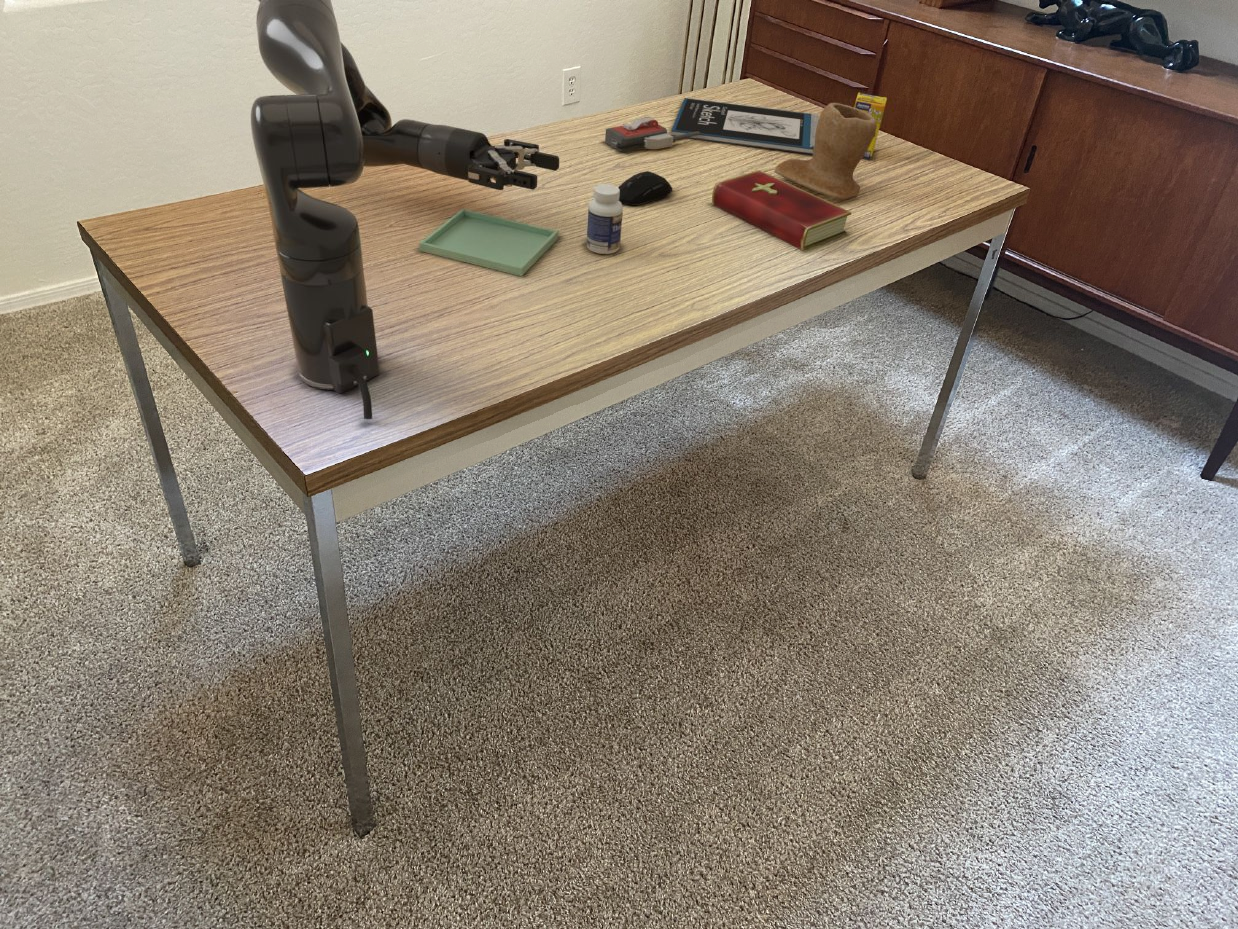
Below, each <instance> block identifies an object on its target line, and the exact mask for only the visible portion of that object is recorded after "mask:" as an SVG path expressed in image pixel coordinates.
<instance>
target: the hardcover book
mask: <svg viewBox="0 0 1238 929" xmlns="http://www.w3.org/2000/svg"><path fill="white" fill-rule="evenodd" d="M711 204H712V206H714V207H715V208H718V209H720V210H722V211H724V212H726V213H728V214H730V215H732V216H734V217H736V218H738V219H740V220H742V221H744V222H746V223H747V224H750V225H752V226H754V227H755V228H758V229H759V230H760V231H763V232H765V233H767V234H769V235H771V236H773V237H774V238H777V239H779V240H781V241H783V242H785V243H787V244H789V245H791V246H793V247H795V248H797V249H799V250H800V251H803V252H804V251H807V250H809V249H812V248H814V247H817V246H819V245H822V244H823V243H827V242H829V241H832V240H835V239H837V238H839V237H842V236H844V235H847V231H846V230H845V226H846V223H847V220H848V219H847V218H848V217H849V216H851V215H852V214H853V213H852V211H850V210H848V209H845V208H843V207H841V206H839V205H837V204H834V203H833V202H830V201H828V200H825V199H823V198H822V197H820V196H817V195H815V194H813V193H810V192H809V191H807V190H804V189H802V188H799V187H798V186H795V185H794V184H791V183H788V182H786V181H784V180H782V179H780V178H778V177H776V176H774V175H772V174H769V173H767V172H764V171H763V170H761V169H758V170H755V171H752V172H748V173H745V174H742V175H739V176H736V177H732V178H729V179H726V180H725V179H724V180H722V181H718V182H716V183H715V184H714V186H713V190H712V195H711Z"/></svg>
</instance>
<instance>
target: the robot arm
mask: <svg viewBox="0 0 1238 929" xmlns="http://www.w3.org/2000/svg"><path fill="white" fill-rule="evenodd" d="M257 1H258V2H259V4H258V8H257V11H256V32H257V42H258V43H257V44H258V50H259V55H260V57H261V59H262V63H264V65H265V67H266V69H267V70H268V71H269V73H270V74H271V75H272V76H273V77H274V79H276V80H277V81H278V82H279V83H280V84H281V85H283V86H284V87H285V88H286V89H288V90H289V91H291V92H292V93H293V94H274V95H261V96H259V97H257V98H256V99H254V101H253V103H252V105H251V109H250V129H251V136H252V137H251V138H252V142H253V148H254V151H255V155H256V160H257V163H258V168H259V171H260V175H261V180H262V184H263V187H264V191H265V196H266V200H267V205H268V210H269V215H270V222H271V227H272V233H273V234H272V235H273V240H274V245H275V251H276V256H277V262H278V266H279V273H280V278H281V279H280V280H281V284H282V289H283V294H284V295H283V296H284V301H285V305H286V306H285V307H286V311H287V317H288V323H289V327H290V334H291V339H292V343H293V344H292V345H293V349H294V355H295V360H296V371H297V374H298V377H299V379H300V380H301V381H302V382H303V383H305V384H306V385H308V386H310V387H313V388H316V389H320V390H328V391H329V390H331V391H335V392H336V393H338V394H342V393H344V392H346V391H349V390H350V389H352V388H354V387H357V386H358V388H359V391H360V394H361V399H362V405H363V406H362V407H363V408H362V409H363V420H372V419H373V405H372V397H371V394H370V390H369V387H368V385H367V382H366V381H369V380H371V379H373V378H375V377H377V376H379V375H380V373H381V372H380V362H379V354H378V346H377V337H376V328H375V320H374V310H373V309H372V307H370V306H369V302H368V295H367V294H368V293H367V286H366V279H365V270H364V269H365V268H364V260H363V249H362V243H361V232H360V226H359V222H358V220H357V218H356V216H355V215H354V214H353V213H352V212H351V211H350V210H348V209H347V208H345V207H343V206H341V205H339V204H335V203H333V202H329V201H325V200H322V199H320V198H316V197H314V196H311V195H309V194H308V193H305V191H303V190H301V189H315V188H318V189H319V188H329V187H330V188H335V187H344V186H349V185H351V184H354V183H356V182H358V180H359V179H360V178H361V176H362V173H363V170H364V168H365V167H366V168H374V167H376V168H377V167H388V166H389V167H391V166H401V165H403V166H405V165H406V166H409V167H413V168H417V169H418V168H419V169H423V170H426V171H429V172H432V173H435V174H437V175H441V176H446V177H451V178H454V179H458V180H463V181H467V182H468V183H470V184H473V185H476V186H477V185H478V186H481V187H485V188H489V189H493V190H496V191H503V190H504V189H505V188H504V187H507V188H511V187H513V186H514V187H519V188H524V189H528V190H533V191H535V189H537V188H538V176H537V174H536V173H531V172H526V171H522V170H524V169H525V167H536V168H540V169H543V170H544V169H545V170H550V171H554V172H556V171H558V170H559V169H560V157H559V156H558V155H555V154H550V153H547V152H541V151H540V145H539V144H537V143H531V142H525V141H521V140H515V139H510V138H505V139H504V140H503V144H497V145H492V144H491V143H490V141H489V139H488V137H487V135H485V133H482V132H479V131H474V130H470V129H466V128H460V127H455V126H450V125H447V124H435V123H429V122H424V121H419V120H415V119H407V118H403V119H400V120H397V121H396V122H395V124H394V125H393V122H392V116H391V113H390V112H389V110H388V109H387V107H386V106H385V105H384V104H383V103H382V101H380V100H379V99H378V98H377V96H376V94H374V92H372V90H371V89H370V87H368V86H367V84H366V82H365V81H364V78H363V76H362V74H361V71H360V70H359V67H358V65H357V63H356V60H355V58H354V57H353V55H352V53H351V52H350V50H349V49H348V47H346V46H345V44H344V43H343V42H342V41H341V37H340V32H339V26H338V22H337V19H336V15H335V11H334V8H333V4H332V0H257ZM492 180H493V181H492Z"/></svg>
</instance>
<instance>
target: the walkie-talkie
mask: <svg viewBox="0 0 1238 929" xmlns="http://www.w3.org/2000/svg"><path fill="white" fill-rule="evenodd" d="M697 135H700V132H699V131H697V132H692V133H687V134H682V135H677V136H671V134H669V133H668V129H667V128H666V127H664V126H663V125H661V124H659V121H658V120H656V119H654V118H652V117H650V116H645V117H639V118H635V119H634V120H632V122H630V123H627V122H622V125H619V126H614V127H608V128H606V129H605V138H604V143H605V144H606V145H608V146H610V147H611V148H614V149H615V150H617V151H618V152H620V153H628V152H633V151H639V150H642V149H648V150H659V149H663V148H671V147H673V146H674V143H677V142H679V141H683V140H688V139H691V138H690V137H692V136H697Z"/></svg>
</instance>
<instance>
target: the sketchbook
mask: <svg viewBox="0 0 1238 929" xmlns="http://www.w3.org/2000/svg"><path fill="white" fill-rule="evenodd" d="M819 117H820V115H818V114H817V113H808V112H800V111H793V110H784V109H776V108H768V107H760V106H752V105H744V104H737V103H729V102H720V101H713V100H705V99H696V98H688V97H684V98H683V100H682V102H681V105H680V108H679V110H678V113H677V115H676V117H675V120H674V123H673V125H672V128H671V129H670V135H671V136H677V135H682V134H687V133H692V132H697V131H699V132H700V135H697V136H692V137H690V138H689V139H693V140H701V141H709V142H718V143H726V144H731V145H739V146H748V147H755V148H756V147H757V148H764V149H771V150H779V151H787V152H794V153H800V154H801V153H802V154H808V155H812V156H813V154H814V147H815V134H816V128H817V124H818V120H819Z"/></svg>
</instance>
